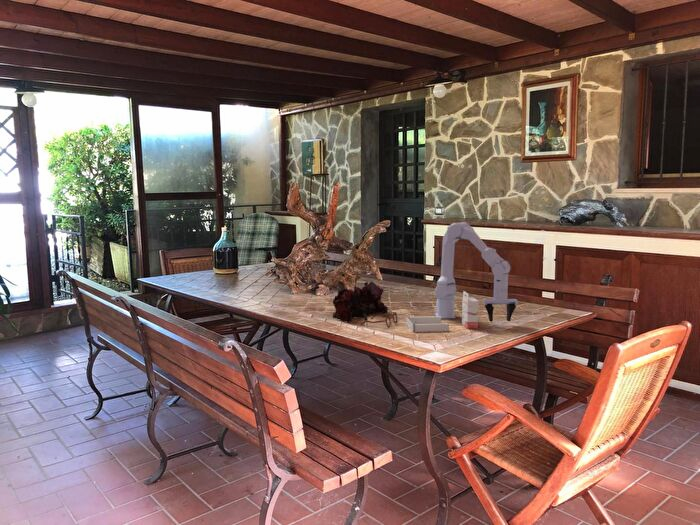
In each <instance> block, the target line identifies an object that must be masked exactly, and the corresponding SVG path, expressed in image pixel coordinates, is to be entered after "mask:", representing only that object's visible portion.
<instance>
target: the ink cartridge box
mask: <svg viewBox="0 0 700 525" xmlns="http://www.w3.org/2000/svg"><path fill="white" fill-rule="evenodd" d="M479 304H480V302H479V300H477V299H476V298H474V297H470V296H469V293H468V292H466V291H464V290H463V295H462V303H461V305H462V309H461V311H462V312H461V325H463V327H465V328H466V329H467V328H468V329H479V306H480V305H479Z"/></svg>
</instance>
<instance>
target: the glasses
mask: <svg viewBox="0 0 700 525" xmlns="http://www.w3.org/2000/svg"><path fill="white" fill-rule="evenodd" d="M376 317H382V318H385V320H383V319H382V320H376V321H375V320H374V321H371V320H372V319H374V318H376ZM391 319H392V320H391ZM388 321H389V324H388ZM392 321H393V323H395V324H396V323H397V322H398V314H397V312H395V311H393V312H392V314H385V315H382V314H373V316H372V317H371V318H370V320H364V321H363V322H361V323H360V324H359V326H363V325H364V324H365V323H370V324H377V323H385V324H386V325H385V326H386V327H387V328H390V327H391V325H392V324H391V323H392ZM389 326H390V327H389Z"/></svg>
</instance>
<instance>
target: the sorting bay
mask: <svg viewBox="0 0 700 525" xmlns="http://www.w3.org/2000/svg"><path fill="white" fill-rule="evenodd" d="M406 325H407V326H408V327H410V328H409V329H410V330H411V332H413V333H422V332H423V333H427V332H428V331H430V332H449V331H450V322H448V323H447V322H445V323H442V319H441V316H436V315H435V316H433V315H431V316H408V315H407V317H406ZM430 332H429V333H430Z"/></svg>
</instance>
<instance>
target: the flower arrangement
mask: <svg viewBox="0 0 700 525" xmlns="http://www.w3.org/2000/svg"><path fill="white" fill-rule="evenodd" d="M363 285H364V286H362V288H360V287H359V286H354V287H353V289H348V288H339V289H338V290H337V295H335V296H334V298H333V299H332V305H333V306H334V309H335V312H332V319H334V318H337V319H341V320H340V321H342V320H344V321H347V322H346V323H350V322H349V321H352V319H354V318H353V317H357V318H363V319H364V318H365V319H364V321H368V317H367V316H369V315H368V314H370V315H374V314H373V313H375V314H378V313H377V312H382V313H383V314H387V313H388V306H386V305H385V302H383V301H382V296H383V293H384V289H383V288H381V287H380V286H379V285H377V284H376V283H374V282H373V281H370V282H368V281H366V282H364V283H363ZM337 319H336V320H337ZM344 321H343V322H344Z"/></svg>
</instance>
